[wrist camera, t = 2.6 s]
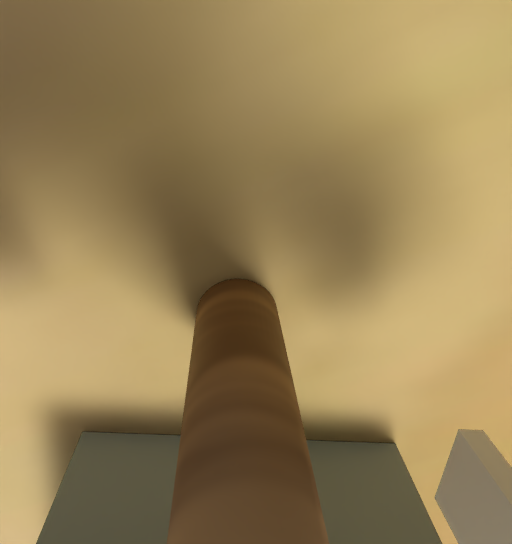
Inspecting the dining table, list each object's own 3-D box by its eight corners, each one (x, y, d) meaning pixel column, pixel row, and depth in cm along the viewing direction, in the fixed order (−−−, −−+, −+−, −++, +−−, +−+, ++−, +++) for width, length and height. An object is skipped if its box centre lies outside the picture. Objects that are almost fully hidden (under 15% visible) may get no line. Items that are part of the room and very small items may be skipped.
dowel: (198, 275, 19) (160, 547, 8) (281, 282, 19) (356, 549, 8) (194, 347, 20) (156, 663, 9) (272, 352, 21) (324, 661, 10)
